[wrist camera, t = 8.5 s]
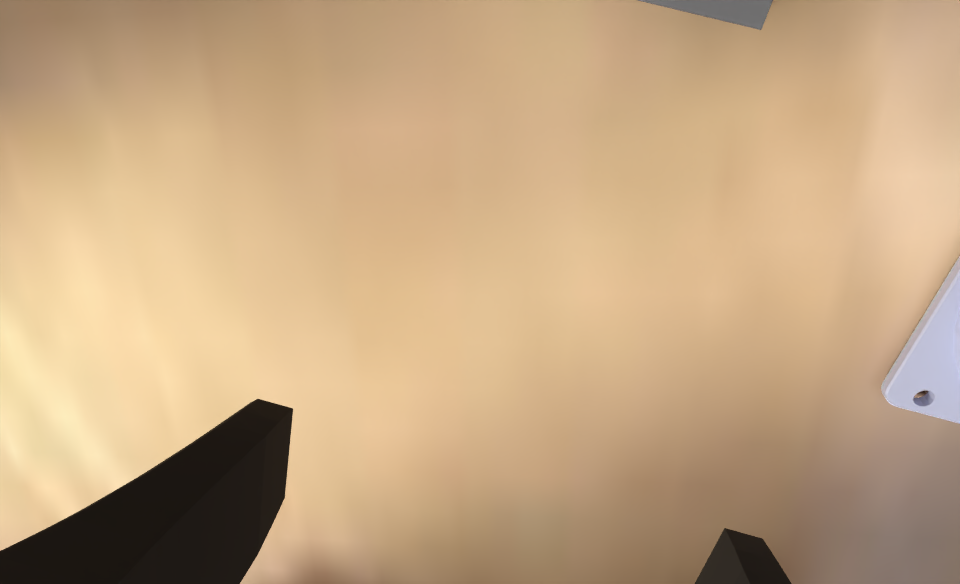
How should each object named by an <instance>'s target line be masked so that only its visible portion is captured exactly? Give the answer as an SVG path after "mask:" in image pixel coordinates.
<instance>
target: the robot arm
mask: <svg viewBox="0 0 960 584" xmlns="http://www.w3.org/2000/svg"><path fill="white" fill-rule="evenodd" d="M881 389H882V394H883V395H884V397H885V398H886V400H887V401H888V402H889V403H890V404H891V405H893V406H896V407H899V408H903V409H906V410H910V411H914V412H918V413H922V414H925V415H929V416H933V417H937V418H940V419H944V420H948V421H952V422H956V423H959V424H960V256H959V258H958V259H957V261H956V263H955V264H954V266H953V268H952V269H951V271H950V272H949V274H948V276H947V277H946V279H945V281H944V282H943V284H942V286H941V287H940V289H939V291H938V292H937V294H936V295H935V297H934V299H933V300H932V302H931V304H930V305H929V307H928V309H927V310H926V312H925V314H924V315H923V317H922V319H921V320H920V322H919V323H918V325H917V327H916V328H915V330H914V332H913V333H912V335H911V337H910V338H909V340H908V342H907V343H906V345H905V346H904V348H903V350H902V351H901V353H900V355H899V356H898V358H897V360H896V361H895V363H894V365H893V366H892V368H891V370H890V371H889V373H888V374H887V376H886V378H885V379H884V381H883V383H882V386H881ZM923 390H925V391H928V393H927V394H926V395H925V396H923V397H920V398H914V396H915V395H916V394H917V393H918V392H920V391H923ZM292 414H293V408H289V407H285V406H282V405H278V404H274V403H271V402H267V401H264V400H260V399H257V400H255V401H253V402H251V403H250V404H248V405H247V406H245V407H244V408H242V409H241V410H239V411H238V412H236V413H235V414H234V415H232V416H231V417H229V418H228V419H226V420H225V421H223V422H222V423H220V424H219V425H218V426H216V427H215V428H213V429H212V430H210V431H209V432H207V433H206V434H204V435H203V436H201V437H200V438H198V439H197V440H195V441H194V442H192V443H191V444H189V445H188V446H186V447H185V448H183V449H182V450H180V451H179V452H177V453H175V454H174V455H172V456H171V457H169V458H168V459H166V460H165V461H163V462H161V463H160V464H158V465H157V466H155V467H154V468H152V469H150V470H149V471H147V472H146V473H144V474H142V475H141V476H139V477H138V478H136V479H134V480H133V481H131V482H129V483H127V484H126V485H124V486H122V487H120V488H119V489H117V490H115V491H114V492H112V493H110V494H108V495H107V496H105V497H103V498H101V499H100V500H98V501H96V502H95V503H93V504H91V505H89V506H88V507H86V508H84V509H82V510H80V511H79V512H77V513H75V514H73V515H71V516H69V517H67V518H65V519H64V520H62V521H60V522H58V523H56V524H54V525H52V526H50V527H48V528H46V529H44V530H42V531H40V532H38V533H36V534H34V535H32V536H30V537H28V538H26V539H24V540H22V541H20V542H18V543H16V544H14V545H12V546H10V547H8V548H6V549H3V550H1V551H0V584H240V582H241V581H242V579H243V577H244V576H245V574H246V573H247V571H248V569H249V568H250V566H251V565H252V563H253V561H254V560H255V558H256V556H257V555H258V553H259V551H260V549H261V547H262V545H263V543H264V541H265V538H266V536H267V534H268V532H269V530H270V528H271V526H272V524H273V522H274V520H275V518H276V515H277V513H278V511H279V509H280V507H281V505H282V502H283V500H284V498H285V488H286V477H287V467H288V456H289V445H290V435H291V424H292ZM695 584H791V582H790V581H789V579H788V577H787V576H786V574H785V573H784V571H783V569H782V568H781V566H780V565H779V563H778V562H777V560H776V558H775V557H774V555H773V554H772V552H771V551H770V549H769V548H768V546H767V545H766V543H765V542H764V540H763V539H762V538H758V537H755V536H751V535H747V534H744V533H740V532H737V531H733V530H729V529H726V528H725V529H724V530H723V532H722V534H721V536H720V538H719V540H718V542H717V543H716V545H715V547H714V549H713V551H712V553H711V555H710V556H709V558H708V560H707V562H706V564H705V566H704V567H703V569H702V571H701V573H700V575H699V577H698V579H697V580H696V582H695Z"/></svg>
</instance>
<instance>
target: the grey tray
mask: <svg viewBox="0 0 960 584" xmlns="http://www.w3.org/2000/svg"><path fill="white" fill-rule="evenodd" d="M639 1H643V2H647V3H651V4H655V5H660V6H664V7H668V8H672V9H676V10H680V11H685V12H689V13H693V14H697V15H701V16H705V17H709V18H714V19H718V20H722V21H726V22H730V23H734V24H739V25H743V26H747V27H751V28H755V29H759V30H761V29H762V27H763V24H764V21H765V19H766V16H767V14H768V11H769V8H770V6H771V3H772V1H773V0H639Z"/></svg>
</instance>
